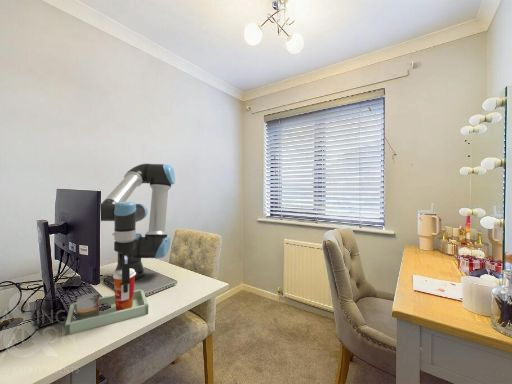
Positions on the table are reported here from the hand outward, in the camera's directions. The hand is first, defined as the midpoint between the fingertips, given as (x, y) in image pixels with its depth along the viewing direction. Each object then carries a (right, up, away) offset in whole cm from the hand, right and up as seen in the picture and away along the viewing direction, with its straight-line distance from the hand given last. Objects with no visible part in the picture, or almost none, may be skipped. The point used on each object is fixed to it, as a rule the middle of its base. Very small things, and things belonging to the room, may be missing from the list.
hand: (124, 294), depth 95 cm
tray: (-4, -7, -2) cm, 9 cm away
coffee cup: (0, -5, 0) cm, 5 cm away
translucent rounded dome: (-10, -6, -6) cm, 13 cm away
